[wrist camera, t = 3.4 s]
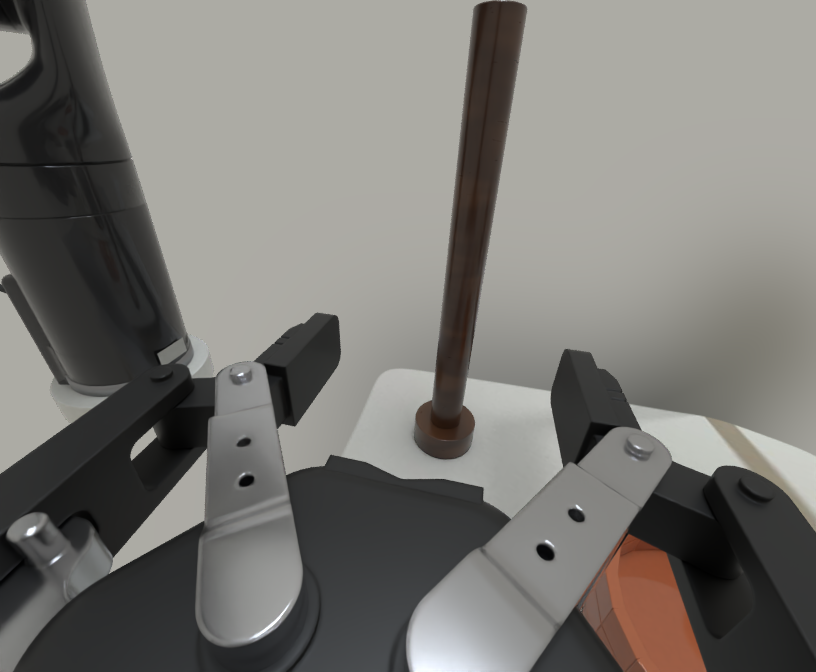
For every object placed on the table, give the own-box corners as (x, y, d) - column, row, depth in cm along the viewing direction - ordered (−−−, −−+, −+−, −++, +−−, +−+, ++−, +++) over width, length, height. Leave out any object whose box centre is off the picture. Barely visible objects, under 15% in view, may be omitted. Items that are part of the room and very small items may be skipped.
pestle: (416, 459, 27) (456, -15, 14) (412, 416, 32) (440, 18, 18) (477, 459, 28) (575, -5, 14) (465, 416, 32) (533, 25, 18)
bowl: (675, 881, 12) (735, 869, 10) (549, 549, 22) (566, 510, 20) (964, 855, 13) (1072, 840, 11) (718, 545, 23) (752, 507, 21)
